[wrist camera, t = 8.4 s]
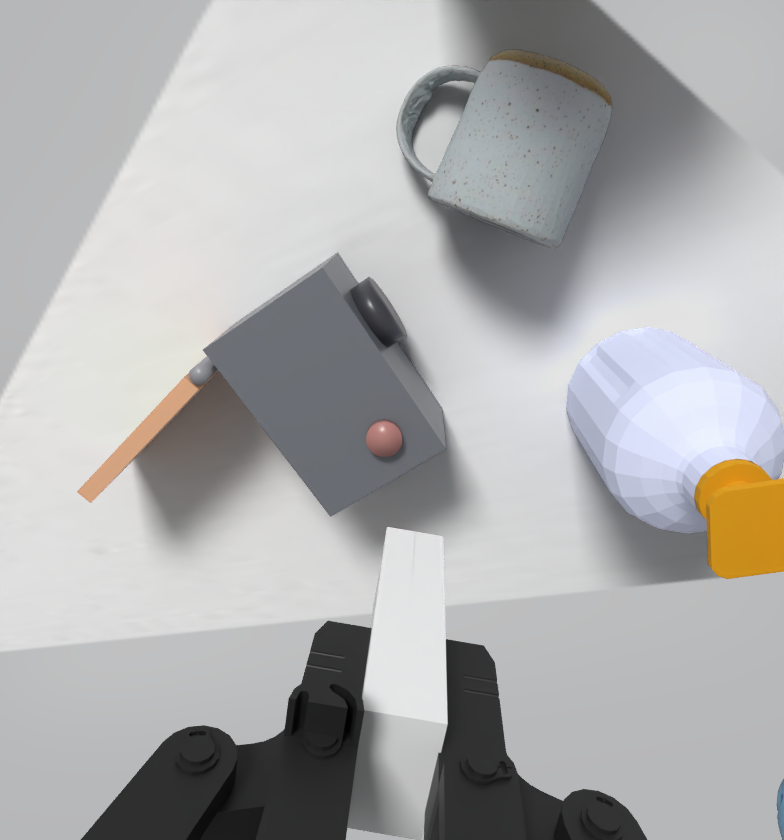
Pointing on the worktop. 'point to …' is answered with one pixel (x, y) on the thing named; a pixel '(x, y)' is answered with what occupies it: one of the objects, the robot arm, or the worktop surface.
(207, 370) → the side door
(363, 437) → the camera housing
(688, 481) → the soap bottle
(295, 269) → the worktop surface
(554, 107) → the ceramic mug
